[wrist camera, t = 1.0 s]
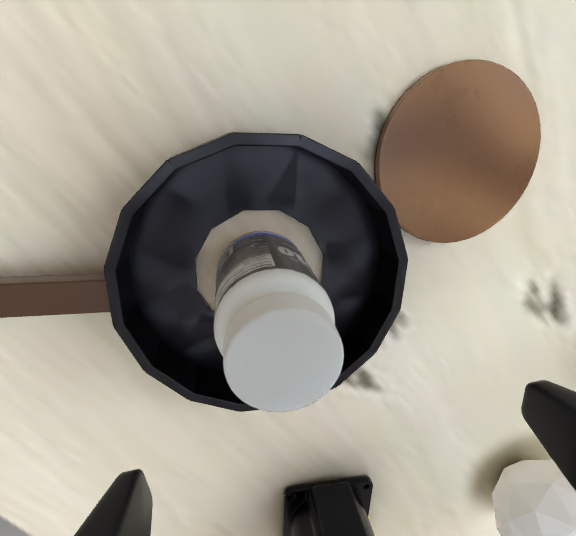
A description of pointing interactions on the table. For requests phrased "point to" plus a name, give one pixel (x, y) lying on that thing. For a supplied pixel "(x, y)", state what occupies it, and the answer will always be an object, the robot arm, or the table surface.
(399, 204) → the disc
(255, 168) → the pan
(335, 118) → the table surface
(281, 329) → the pill bottle
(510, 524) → the ball
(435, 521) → the table surface
